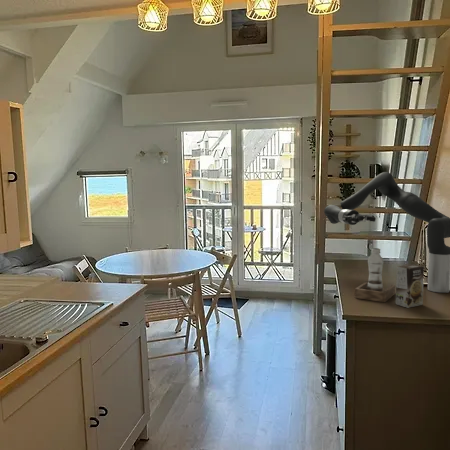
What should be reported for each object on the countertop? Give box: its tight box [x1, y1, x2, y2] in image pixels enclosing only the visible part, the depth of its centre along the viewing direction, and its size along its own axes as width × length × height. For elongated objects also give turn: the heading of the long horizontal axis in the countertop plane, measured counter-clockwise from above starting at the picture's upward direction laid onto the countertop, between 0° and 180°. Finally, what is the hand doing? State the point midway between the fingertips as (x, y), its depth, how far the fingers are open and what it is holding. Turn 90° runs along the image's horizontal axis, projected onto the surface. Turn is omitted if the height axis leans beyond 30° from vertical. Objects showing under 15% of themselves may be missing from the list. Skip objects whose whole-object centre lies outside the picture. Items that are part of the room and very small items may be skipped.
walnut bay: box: [354, 281, 396, 303], centre depth 191 cm, size 13×15×4 cm
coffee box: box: [395, 263, 425, 309], centre depth 177 cm, size 9×6×16 cm
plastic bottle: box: [367, 247, 384, 292], centre depth 191 cm, size 6×7×20 cm
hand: (366, 219), depth 206 cm, fingers open, 8 cm apart
